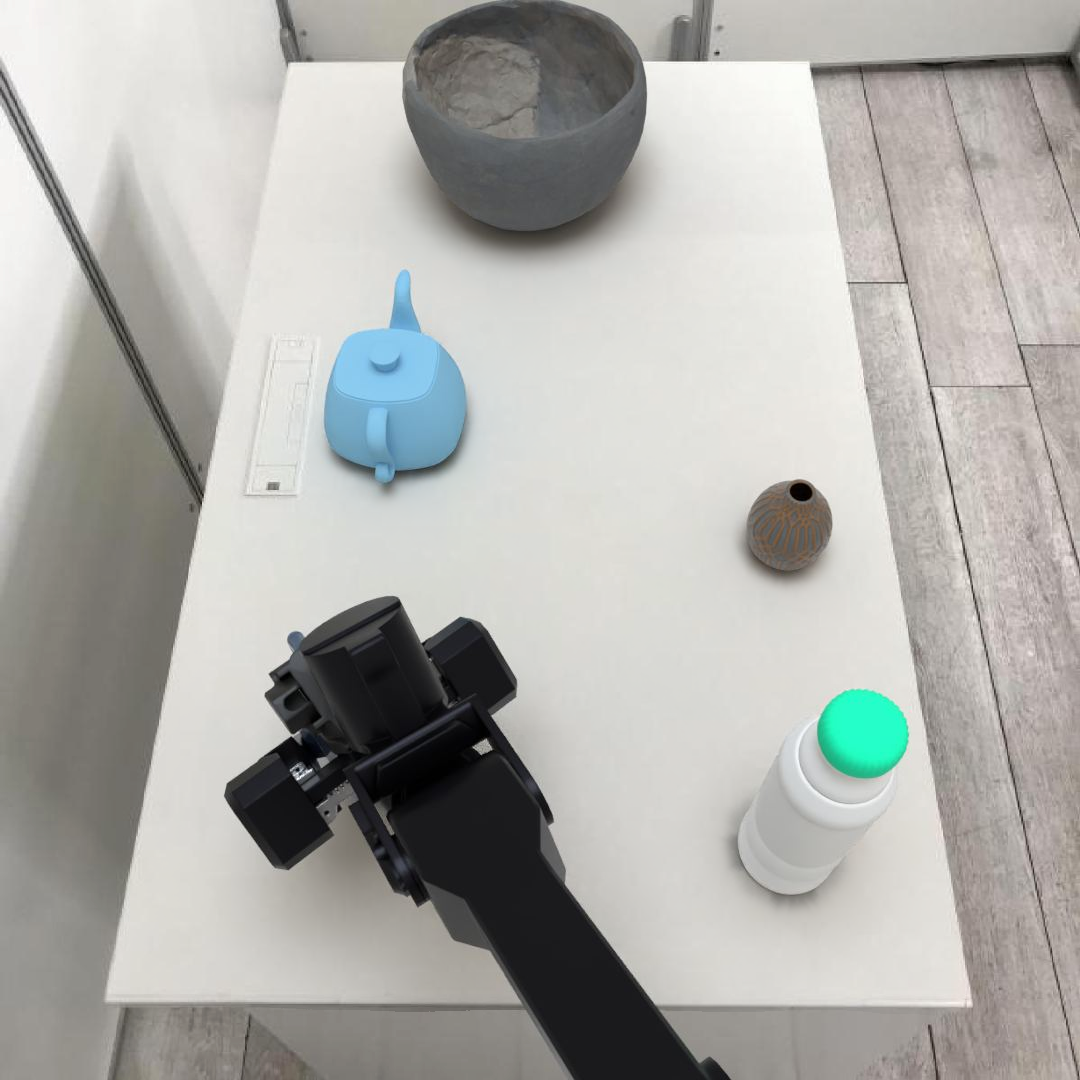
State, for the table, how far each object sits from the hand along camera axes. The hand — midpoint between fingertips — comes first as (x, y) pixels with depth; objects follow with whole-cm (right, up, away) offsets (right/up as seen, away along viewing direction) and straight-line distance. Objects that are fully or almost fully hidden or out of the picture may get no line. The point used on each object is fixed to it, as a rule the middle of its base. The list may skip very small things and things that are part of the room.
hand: (343, 709), depth 74 cm
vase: (+35, +11, +18) cm, 40 cm away
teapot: (+1, +23, +26) cm, 35 cm away
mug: (0, -3, +6) cm, 7 cm away
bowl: (+12, +50, +42) cm, 66 cm away
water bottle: (+32, -11, +5) cm, 34 cm away
